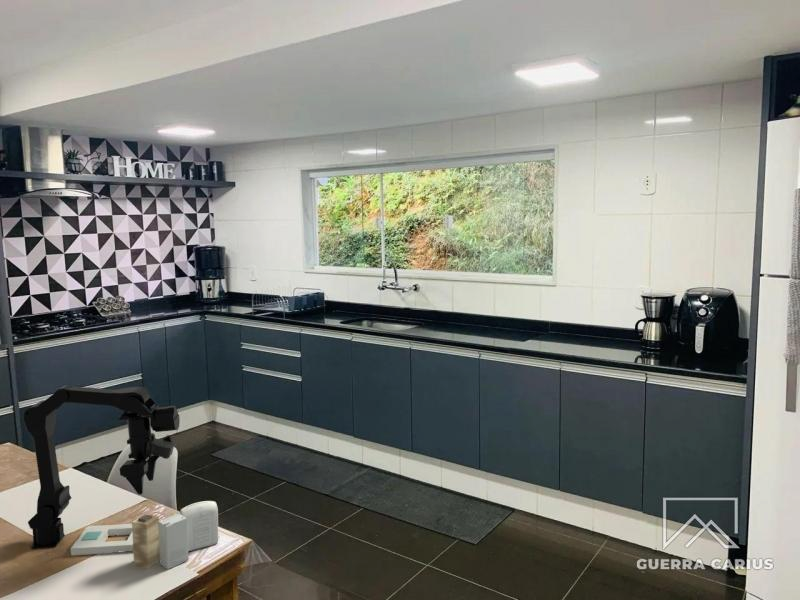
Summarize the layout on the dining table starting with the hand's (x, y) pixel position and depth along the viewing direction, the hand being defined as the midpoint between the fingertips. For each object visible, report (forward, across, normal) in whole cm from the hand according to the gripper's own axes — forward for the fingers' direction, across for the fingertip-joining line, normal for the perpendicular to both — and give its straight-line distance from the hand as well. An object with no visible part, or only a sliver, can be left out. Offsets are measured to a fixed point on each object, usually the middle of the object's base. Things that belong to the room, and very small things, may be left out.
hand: (145, 487), depth 167 cm
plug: (+15, -13, -3) cm, 20 cm away
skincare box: (+16, -14, -10) cm, 23 cm away
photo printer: (+16, -5, -14) cm, 22 cm away
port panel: (+14, -1, +9) cm, 17 cm away
